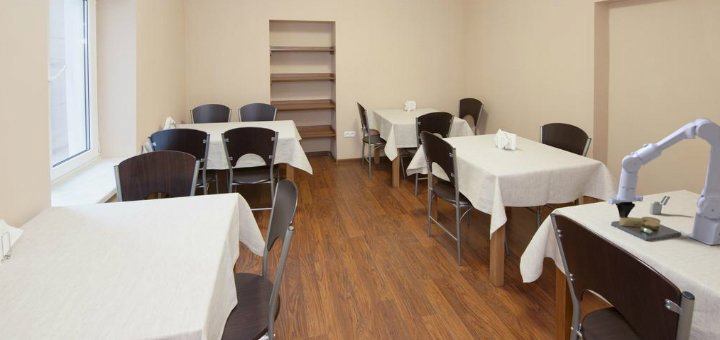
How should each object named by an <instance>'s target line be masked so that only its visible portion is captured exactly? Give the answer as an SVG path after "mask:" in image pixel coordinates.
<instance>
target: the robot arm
mask: <svg viewBox="0 0 720 340" xmlns="http://www.w3.org/2000/svg"><path fill="white" fill-rule="evenodd" d="M696 136H697V137H698V138H700V139H702V140H703V141H706V143H708V144H709V145H710V150H709V156H708V164H707V168H706V169H707V170H706V175H705V181H704V187H703V189H702V190H701V194H700V196H699V197H698V199H697V200H696V206H697V208H698V210H696V212H695V215H694V220H693V227H692V232H691V233H686V234H685V236H686V237H688V238H691V239H693V240H696V241H698V242H701V243H703V244H707V245H709V246H713V245H714V246H715V245H720V125H718V124H717V123H715V122H714V121H712V120H711V119H708V118H706V117H699V118H697V119H695V120H694V121H693V122H692V121H691V122H689V123H687V124H685V125H684V126H681V127H680V128H679V129H677V130H675V131H674V132H673V133H671V134H669V135H668V136H666V137H664V138H663V139H661V140H660V141H658V142H657V143H653V142H651V143H650V142H649V143H644V144H643V145H642V146H643V147H641V148H640V149H638V150H636V151H632V152H631V153H630V154H629V155H628V154H627V155H625V156H624V157H623V159H622V160H621V165H622V167H621V171H620V172H621V173H620V177H619V184H618V190H617V194H615V196H613V197H609V198H608V200H607V204H609V205H614V204H615V206H616V208H617V211H618V217H619V218H620V217H629V215H630V212H632V210H633V209H634V208H635V207H636V203H633V202H644V201H643V200H644V196H643V195H639V194H637V195H636V191H637V185H638V180H639V178H638V177H639V176H638V173H639V170H640V169H641V168H642V166H646V165H647V164H649V163H651V162H652V161H654V160H656V159H657V158H659V157H661V156H662V152H663V151H664V150H667V149H668V148H670V147H673V146H674V145H675V144H678V143H679V142H681V141H683V140H694V139H695V140H696V139H697V137H696Z"/></svg>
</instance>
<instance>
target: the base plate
mask: <svg viewBox="0 0 720 340" xmlns="http://www.w3.org/2000/svg"><path fill="white" fill-rule="evenodd" d="M610 225H611V226H612V227H614V228H617V229H619V230H621V231H623V232H625V233H628V234H629V235H631V236H634V237H637V238H638V239H640V240H643V241H644V242H645V241H646V242H648V241H654V240H656V241H657V240H662V239H669V238H670V239H671V238H678V237H681V235H682V232H681V231H679V230H676V229H673V228H670V227H668V226H665V225H664V224H661V223H660V227H659V229H658V230H650V229H647V228H645V227H636V226H623V225H619V220H618V221H617V220H616V221H615V220H614V221H611V224H610Z"/></svg>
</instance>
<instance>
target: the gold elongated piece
mask: <svg viewBox="0 0 720 340" xmlns="http://www.w3.org/2000/svg"><path fill="white" fill-rule="evenodd" d="M618 221H619V225H623V226H636V227H645V228H647V229H650V230H658V229H659V227H660V224H661V220H660V219H659V218H656V217H651V216H642V217H630V216H628V217H619V219H618Z"/></svg>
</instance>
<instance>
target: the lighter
mask: <svg viewBox="0 0 720 340" xmlns="http://www.w3.org/2000/svg"><path fill="white" fill-rule="evenodd" d="M670 199H671V196H669V195H667V194H664V196H663V197H662V199H661V200H660V201H653V203H650V208H649V214H650V215H661V214H662V209H663V206H666V205H667V203H669V200H670Z"/></svg>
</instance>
